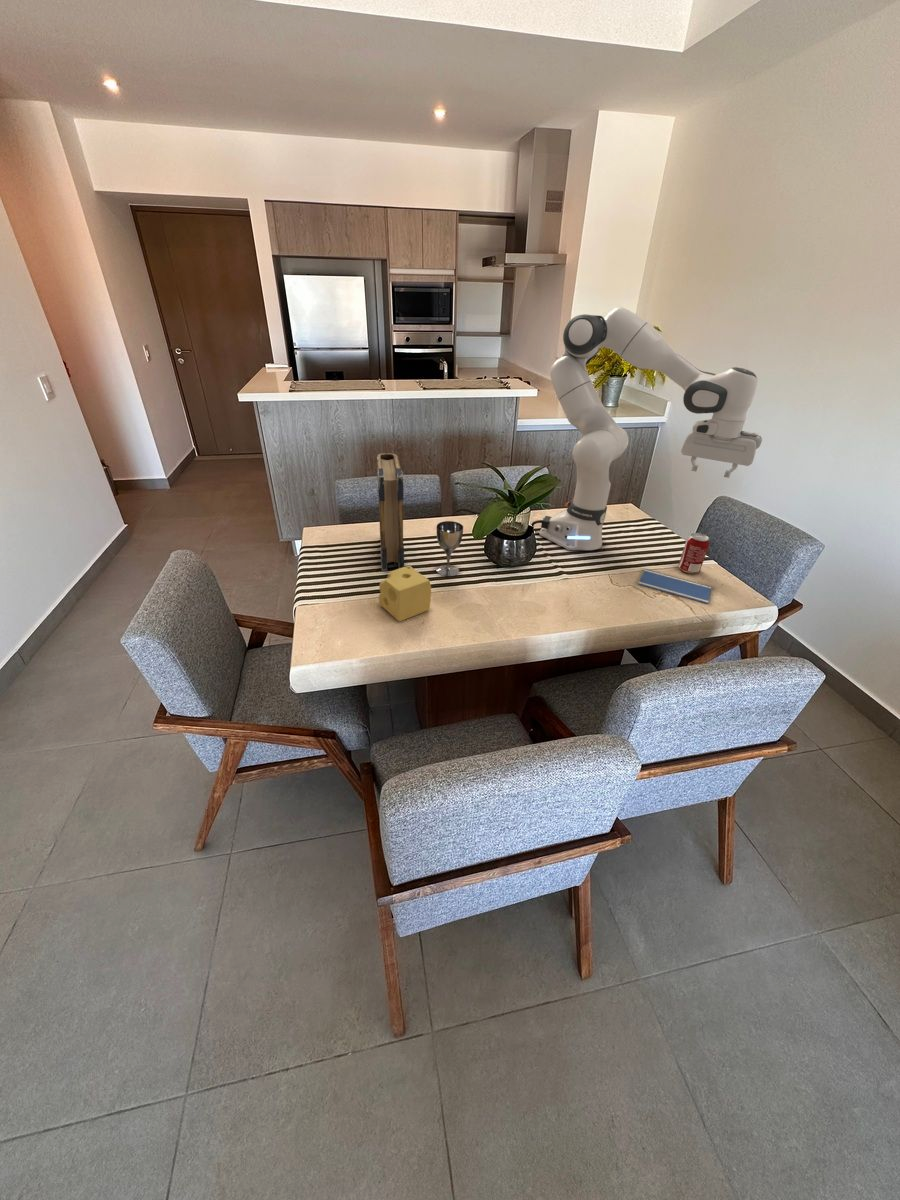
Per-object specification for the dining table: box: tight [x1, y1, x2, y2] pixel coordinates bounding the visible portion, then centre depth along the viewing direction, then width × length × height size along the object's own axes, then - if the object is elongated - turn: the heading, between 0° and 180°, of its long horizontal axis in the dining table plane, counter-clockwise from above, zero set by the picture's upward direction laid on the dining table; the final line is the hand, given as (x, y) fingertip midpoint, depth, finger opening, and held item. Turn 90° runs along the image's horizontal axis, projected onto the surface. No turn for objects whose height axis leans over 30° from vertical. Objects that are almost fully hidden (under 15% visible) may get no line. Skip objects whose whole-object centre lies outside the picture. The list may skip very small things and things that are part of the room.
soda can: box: [677, 532, 710, 574], centre depth 159 cm, size 7×7×12 cm
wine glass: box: [435, 520, 464, 577], centre depth 151 cm, size 8×8×15 cm
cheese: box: [378, 565, 432, 622], centre depth 134 cm, size 10×11×10 cm
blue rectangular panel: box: [638, 568, 712, 605], centre depth 153 cm, size 20×11×1 cm, turn 61°
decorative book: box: [376, 452, 405, 572], centre depth 156 cm, size 23×7×30 cm, turn 9°
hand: (709, 473), depth 155 cm, fingers open, 8 cm apart
